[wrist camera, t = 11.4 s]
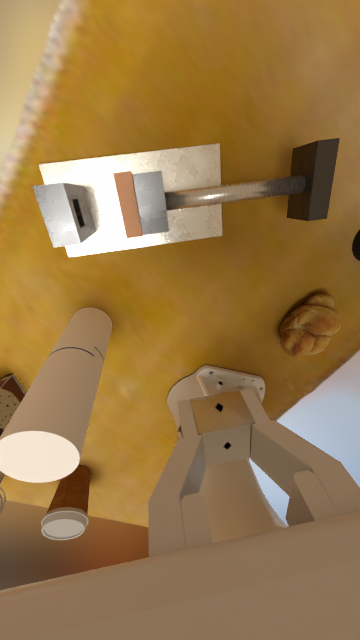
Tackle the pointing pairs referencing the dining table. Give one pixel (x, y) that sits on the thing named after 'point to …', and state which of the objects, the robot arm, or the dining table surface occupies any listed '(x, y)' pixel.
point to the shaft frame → (150, 184)
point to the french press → (0, 477)
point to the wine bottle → (356, 246)
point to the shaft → (277, 185)
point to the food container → (9, 399)
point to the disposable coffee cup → (68, 507)
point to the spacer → (128, 204)
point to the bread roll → (310, 326)
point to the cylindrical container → (58, 404)
